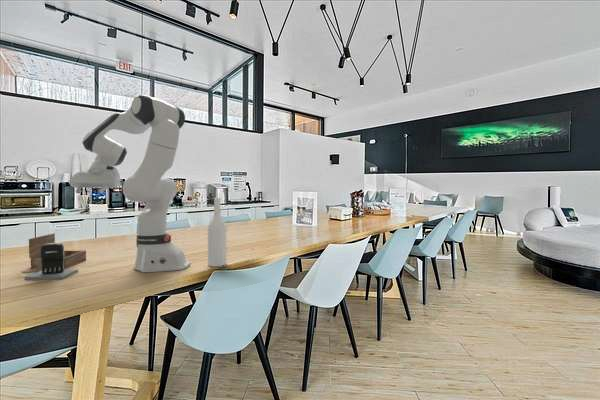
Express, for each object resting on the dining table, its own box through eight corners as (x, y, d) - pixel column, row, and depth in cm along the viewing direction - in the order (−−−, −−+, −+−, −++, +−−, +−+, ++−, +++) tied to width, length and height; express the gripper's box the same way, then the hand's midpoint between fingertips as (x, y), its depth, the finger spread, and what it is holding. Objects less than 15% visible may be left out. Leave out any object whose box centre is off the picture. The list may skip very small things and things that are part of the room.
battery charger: (39, 275, 116) (39, 245, 116) (42, 273, 120) (41, 243, 119) (63, 273, 120) (62, 243, 119) (64, 270, 123) (64, 242, 123)
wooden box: (86, 259, 145) (85, 233, 144) (57, 271, 125) (57, 240, 124) (54, 260, 143) (53, 233, 143) (20, 272, 123) (19, 241, 123)
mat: (78, 271, 125) (77, 269, 125) (62, 278, 116) (62, 276, 116) (42, 272, 124) (42, 270, 124) (24, 279, 114) (24, 277, 114)
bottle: (212, 267, 134) (212, 198, 133) (204, 264, 140) (204, 197, 139) (229, 264, 139) (229, 197, 138) (221, 261, 145) (221, 197, 144)
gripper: (73, 166, 148) (61, 187, 139) (119, 167, 151) (109, 188, 142) (79, 176, 153) (67, 197, 144) (123, 177, 155) (114, 197, 146)
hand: (88, 192), depth 143 cm, fingers open, 8 cm apart
